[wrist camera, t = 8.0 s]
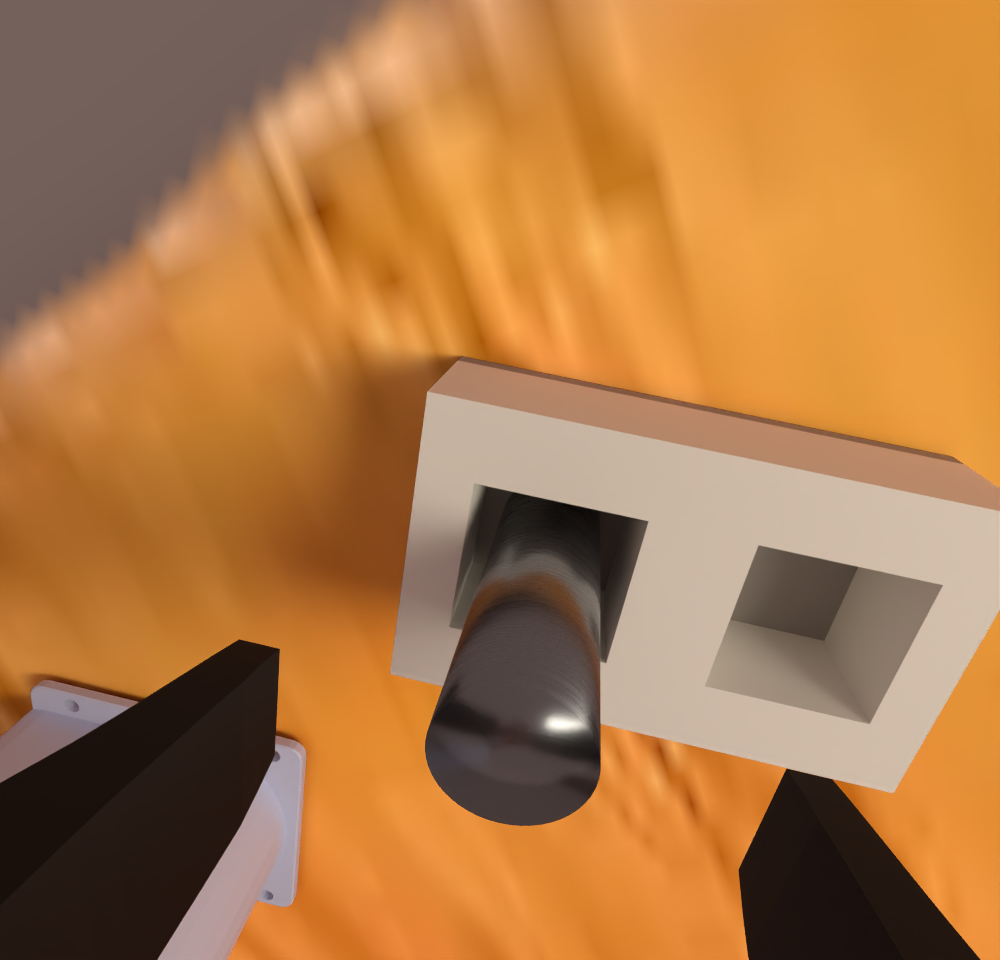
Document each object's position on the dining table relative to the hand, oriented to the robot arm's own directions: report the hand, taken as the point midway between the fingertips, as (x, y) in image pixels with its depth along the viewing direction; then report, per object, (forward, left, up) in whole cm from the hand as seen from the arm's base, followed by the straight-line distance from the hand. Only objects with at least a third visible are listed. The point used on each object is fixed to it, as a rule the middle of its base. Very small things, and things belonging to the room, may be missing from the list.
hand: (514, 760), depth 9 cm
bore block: (+3, 0, -8) cm, 9 cm away
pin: (0, 0, -8) cm, 8 cm away
